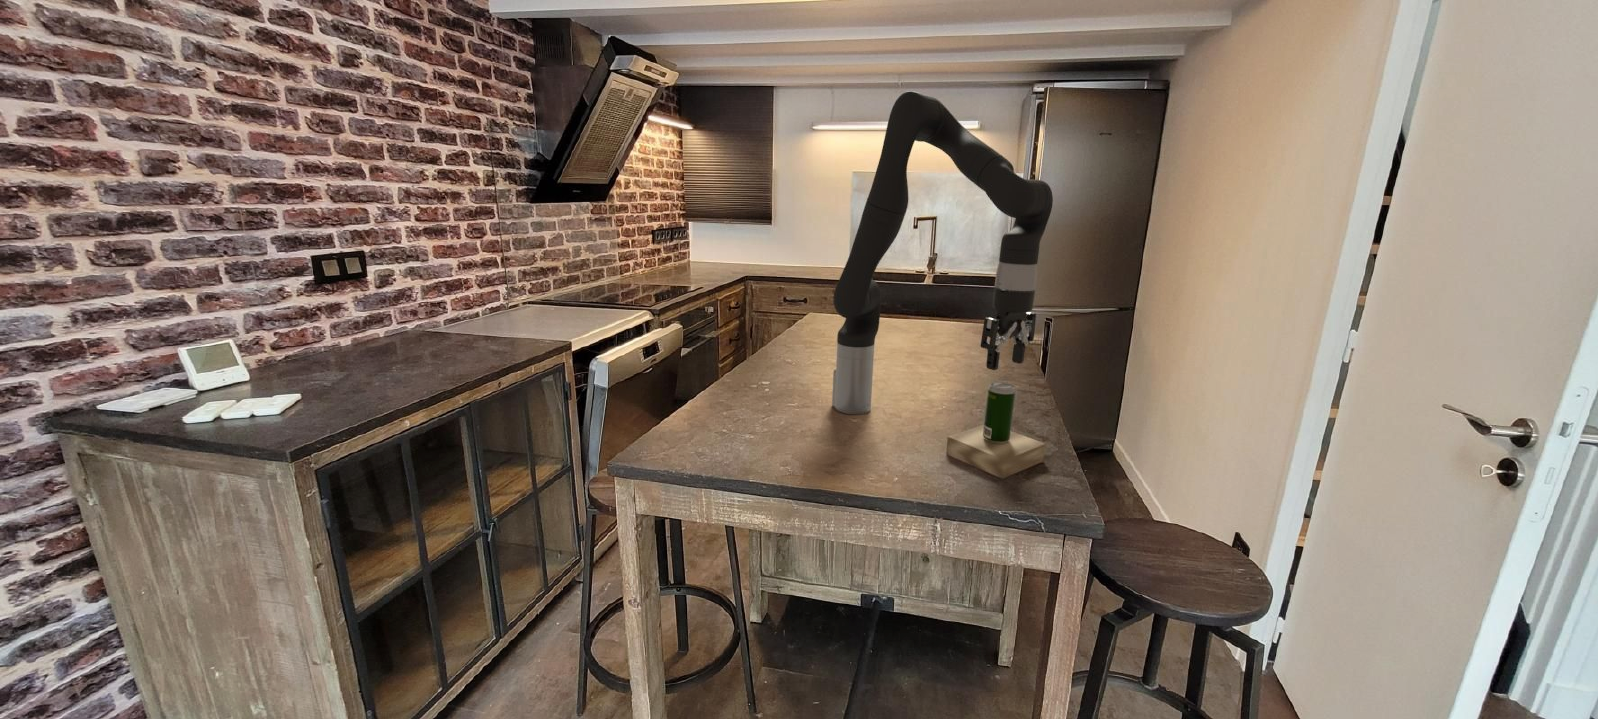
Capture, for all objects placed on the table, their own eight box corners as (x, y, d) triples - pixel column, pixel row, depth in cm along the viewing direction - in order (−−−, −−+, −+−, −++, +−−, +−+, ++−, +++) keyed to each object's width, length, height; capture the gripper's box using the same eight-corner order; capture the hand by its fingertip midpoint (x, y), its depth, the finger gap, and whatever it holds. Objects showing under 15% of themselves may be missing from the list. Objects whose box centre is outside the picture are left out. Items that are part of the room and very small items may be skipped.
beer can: (997, 447, 125) (1004, 391, 121) (977, 438, 129) (982, 383, 126) (1014, 441, 128) (1021, 386, 124) (994, 433, 132) (1000, 379, 129)
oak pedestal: (946, 453, 131) (947, 436, 129) (986, 439, 139) (988, 422, 138) (1002, 478, 120) (1004, 459, 119) (1042, 461, 128) (1045, 443, 127)
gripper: (1019, 281, 126) (1009, 356, 131) (976, 285, 118) (967, 366, 123) (1052, 286, 121) (1041, 365, 125) (1009, 291, 112) (999, 376, 117)
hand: (1004, 365), depth 124 cm, fingers open, 8 cm apart
